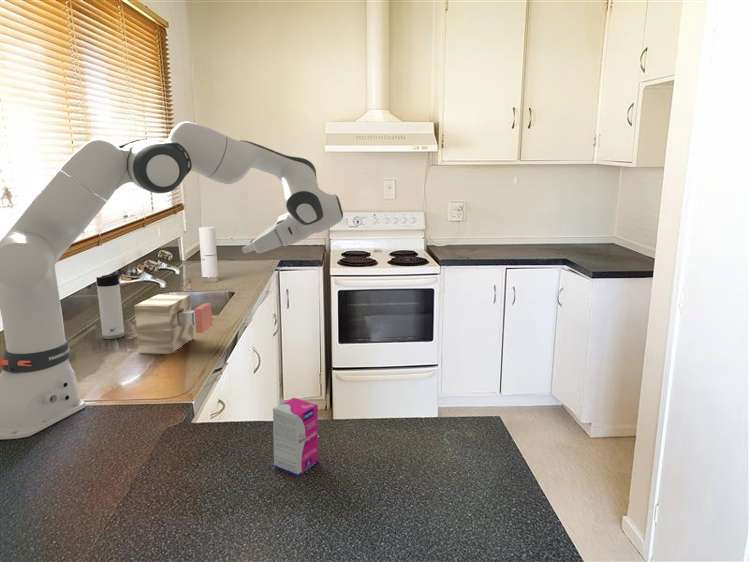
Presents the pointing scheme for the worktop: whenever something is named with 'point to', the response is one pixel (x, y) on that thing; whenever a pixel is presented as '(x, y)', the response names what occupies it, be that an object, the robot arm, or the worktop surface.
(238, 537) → the worktop surface
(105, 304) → the travel mug
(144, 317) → the block
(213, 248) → the cylindrical container
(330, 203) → the robot arm
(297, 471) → the supplement box
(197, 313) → the pink-tipped peg
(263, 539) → the worktop surface
